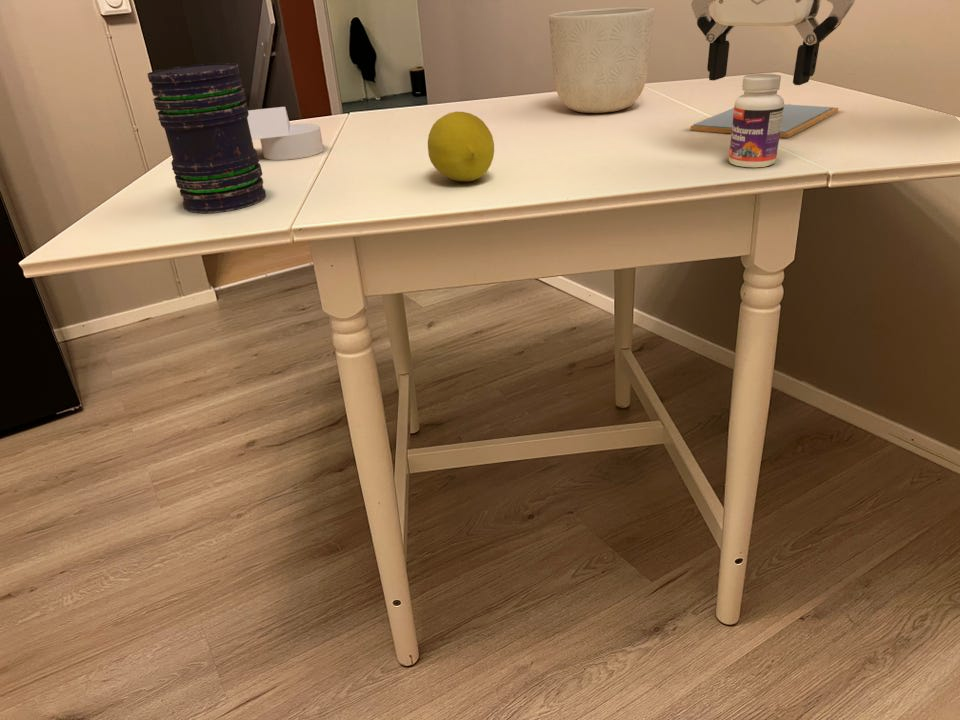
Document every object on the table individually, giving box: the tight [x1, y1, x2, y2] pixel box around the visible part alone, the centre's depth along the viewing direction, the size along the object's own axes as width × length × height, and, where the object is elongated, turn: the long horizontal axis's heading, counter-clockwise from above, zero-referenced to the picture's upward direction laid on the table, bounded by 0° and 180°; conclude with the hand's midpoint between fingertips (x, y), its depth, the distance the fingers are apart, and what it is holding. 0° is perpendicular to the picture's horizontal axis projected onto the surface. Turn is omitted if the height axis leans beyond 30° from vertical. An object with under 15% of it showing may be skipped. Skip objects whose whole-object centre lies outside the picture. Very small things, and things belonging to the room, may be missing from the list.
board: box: [690, 103, 839, 139], centre depth 105 cm, size 14×20×1 cm
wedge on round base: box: [247, 106, 325, 161], centre depth 106 cm, size 9×7×13 cm
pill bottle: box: [728, 73, 785, 168], centre depth 82 cm, size 5×5×10 cm
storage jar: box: [147, 62, 267, 214], centre depth 82 cm, size 10×10×15 cm
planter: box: [548, 6, 655, 114], centre depth 119 cm, size 17×17×15 cm
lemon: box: [427, 111, 495, 182], centre depth 85 cm, size 11×8×8 cm
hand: (757, 81), depth 80 cm, fingers open, 9 cm apart
